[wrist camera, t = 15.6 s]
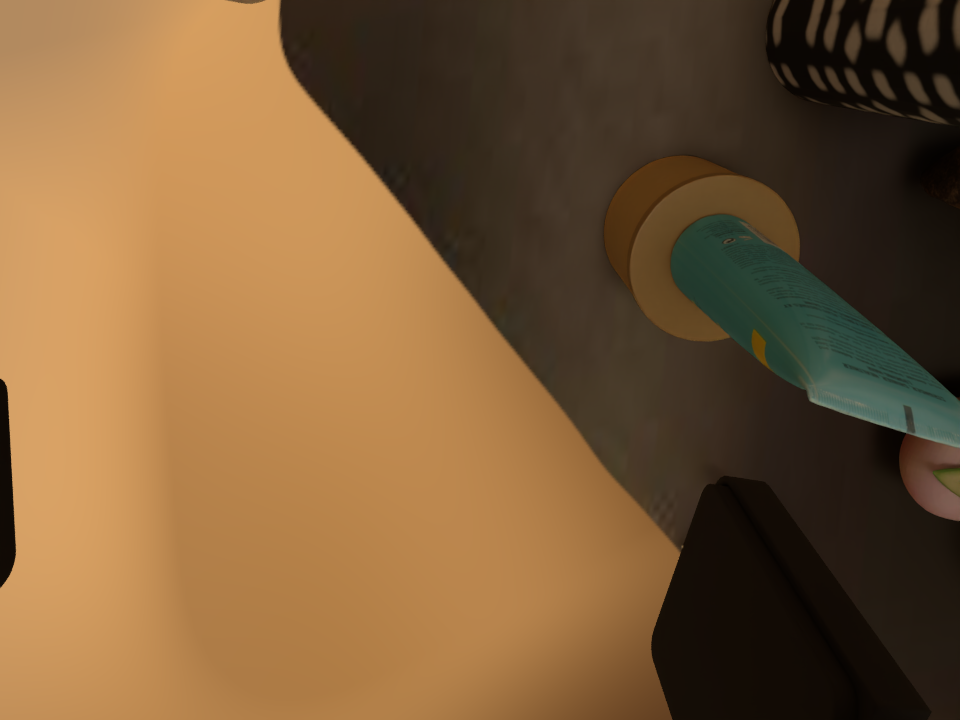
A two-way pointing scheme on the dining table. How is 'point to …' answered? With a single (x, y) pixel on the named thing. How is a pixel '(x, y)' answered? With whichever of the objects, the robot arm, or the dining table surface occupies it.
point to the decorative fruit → (932, 475)
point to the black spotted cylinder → (870, 55)
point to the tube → (807, 330)
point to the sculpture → (944, 178)
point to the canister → (667, 214)
